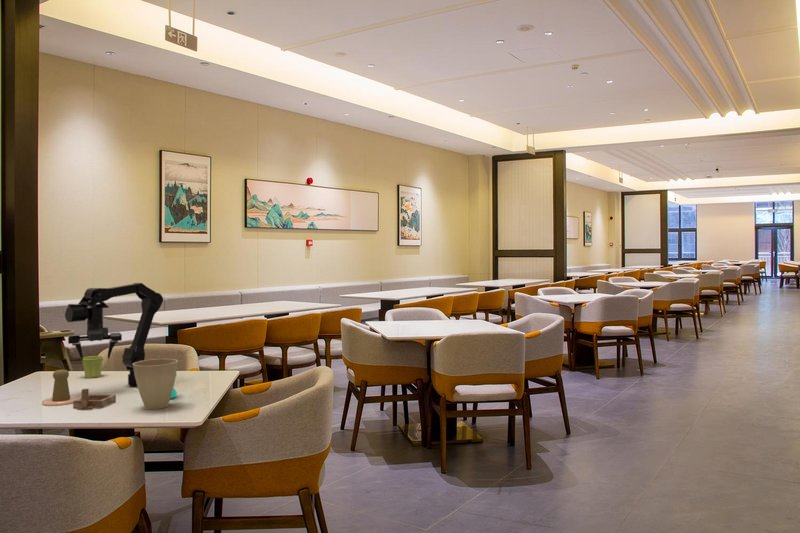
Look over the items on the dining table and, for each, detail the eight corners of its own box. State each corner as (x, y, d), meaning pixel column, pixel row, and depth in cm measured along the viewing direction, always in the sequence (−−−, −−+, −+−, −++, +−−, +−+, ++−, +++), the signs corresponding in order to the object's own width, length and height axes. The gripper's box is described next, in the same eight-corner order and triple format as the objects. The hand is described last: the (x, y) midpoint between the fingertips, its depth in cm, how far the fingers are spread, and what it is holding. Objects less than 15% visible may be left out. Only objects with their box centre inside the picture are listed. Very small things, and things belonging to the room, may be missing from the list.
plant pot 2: (164, 400, 232) (163, 357, 232) (186, 406, 223) (186, 361, 223) (125, 407, 221) (124, 362, 221) (146, 414, 211) (146, 367, 211)
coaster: (78, 397, 238) (78, 395, 238) (79, 403, 227) (79, 401, 227) (42, 400, 233) (42, 398, 232) (41, 407, 222) (41, 405, 222)
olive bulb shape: (56, 402, 226) (56, 372, 226) (48, 400, 230) (48, 370, 229) (73, 399, 231) (73, 369, 230) (65, 397, 234) (65, 367, 234)
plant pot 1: (98, 378, 274) (97, 359, 274) (76, 379, 274) (76, 359, 274) (108, 374, 284) (108, 355, 283) (87, 375, 284) (87, 355, 284)
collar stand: (88, 401, 231) (88, 382, 231) (115, 401, 230) (115, 382, 230) (69, 409, 218) (69, 389, 218) (98, 409, 218) (98, 389, 218)
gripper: (67, 323, 233) (68, 364, 234) (122, 320, 242) (122, 360, 242) (68, 320, 243) (68, 360, 244) (120, 318, 252) (120, 357, 252)
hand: (95, 359), depth 245 cm, fingers open, 9 cm apart
